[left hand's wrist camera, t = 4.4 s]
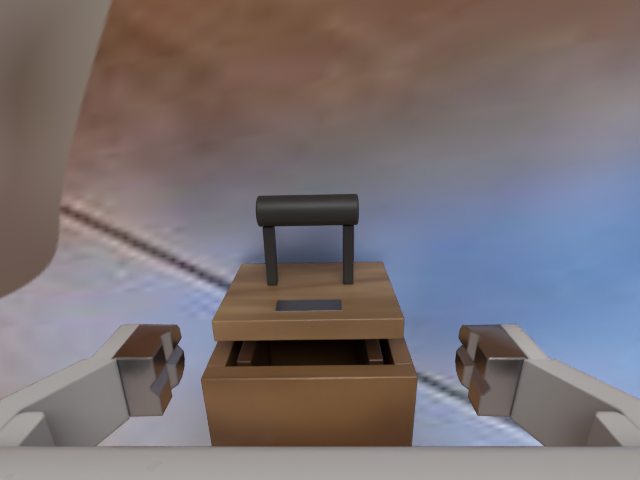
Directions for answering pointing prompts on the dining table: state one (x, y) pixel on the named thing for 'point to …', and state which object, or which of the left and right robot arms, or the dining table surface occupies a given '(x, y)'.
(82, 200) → the dining table surface
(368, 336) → the drawer
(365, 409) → the cabinet
